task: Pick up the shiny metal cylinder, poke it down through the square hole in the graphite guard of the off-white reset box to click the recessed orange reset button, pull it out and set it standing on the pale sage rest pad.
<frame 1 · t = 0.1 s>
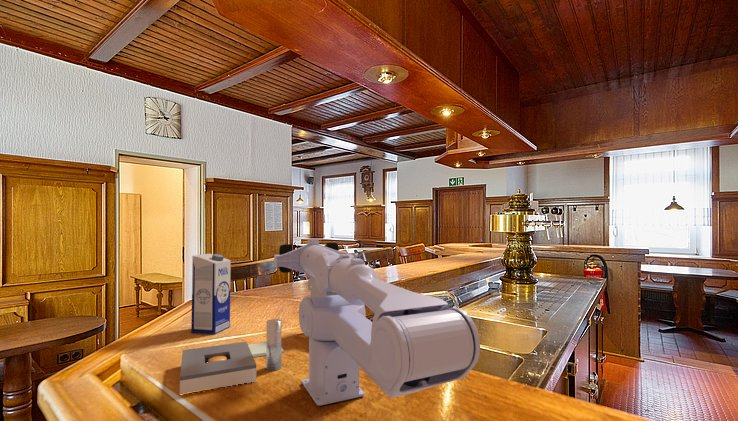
hand: (301, 252, 80), 22 cm above the counter, tool horizontal, fingers open, 7 cm apart
reset box: (217, 373, 68), on the counter
circuit breaker: (338, 334, 92), on the counter
milk carton: (211, 330, 96), on the counter
rest pad: (264, 350, 80), on the counter
reset plunger: (217, 361, 68), point 2 cm above the counter, slide at 0.0 cm
shiny metal cylinder: (273, 367, 70), on the counter
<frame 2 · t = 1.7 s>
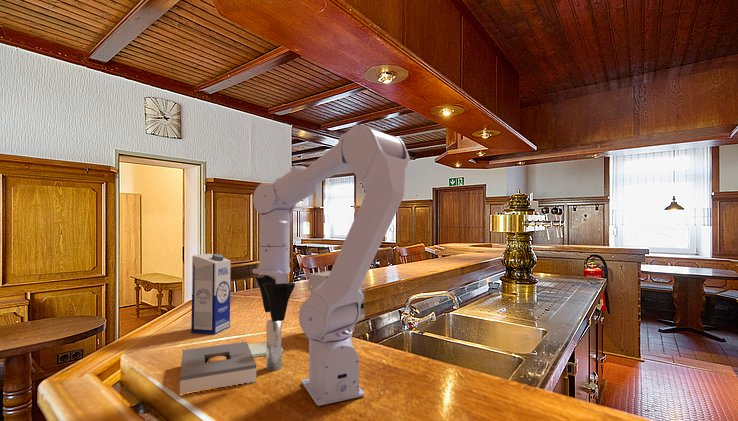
hand: (274, 315, 71), 10 cm above the counter, tool pointing down, fingers open, 7 cm apart
nothing on the counter moved.
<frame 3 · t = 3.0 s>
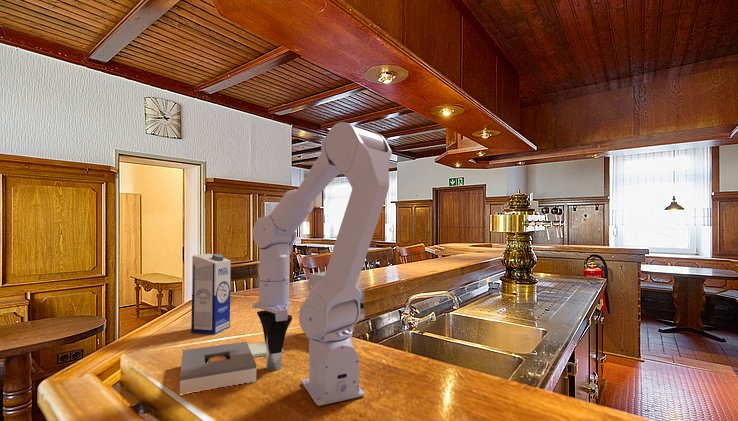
hand: (273, 350, 71), 3 cm above the counter, tool pointing down, fingers closed on shiny metal cylinder, 3 cm apart
shiny metal cylinder: (273, 367, 70), on the counter, touching gripper
everything else where it was.
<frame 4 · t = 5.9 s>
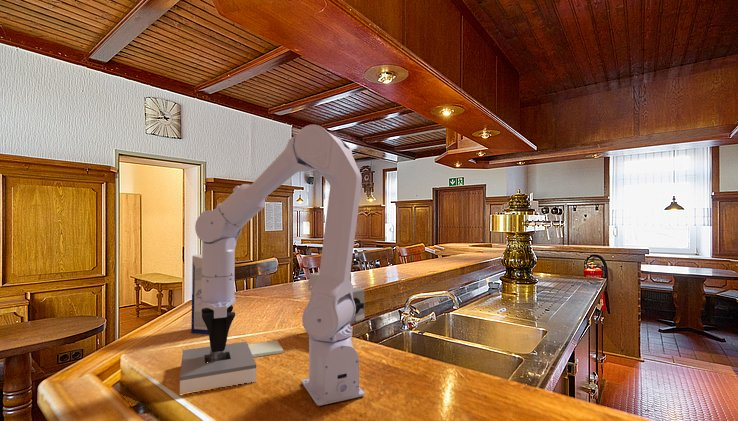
hand: (217, 348, 68), 5 cm above the counter, tool pointing down, fingers closed on shiny metal cylinder, 3 cm apart
reset plunger: (217, 368, 68), point 1 cm above the counter, slide at 1.4 cm, touching shiny metal cylinder
shiny metal cylinder: (217, 366, 68), point 1 cm above the counter, touching gripper, reset plunger
everything else where it was.
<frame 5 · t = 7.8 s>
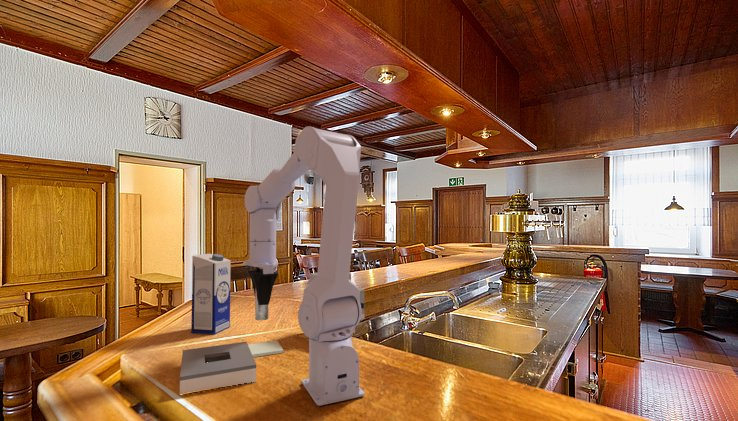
hand: (262, 303, 80), 10 cm above the counter, tool pointing down, fingers closed on shiny metal cylinder, 3 cm apart
reset plunger: (217, 368, 68), point 1 cm above the counter, slide at 1.4 cm
shiny metal cylinder: (261, 318, 80), point 7 cm above the counter, touching gripper
everything else where it was.
when the fingers open (5 cm above the counter, at t = 9.2 s): shiny metal cylinder stays where it is, resting on rest pad.
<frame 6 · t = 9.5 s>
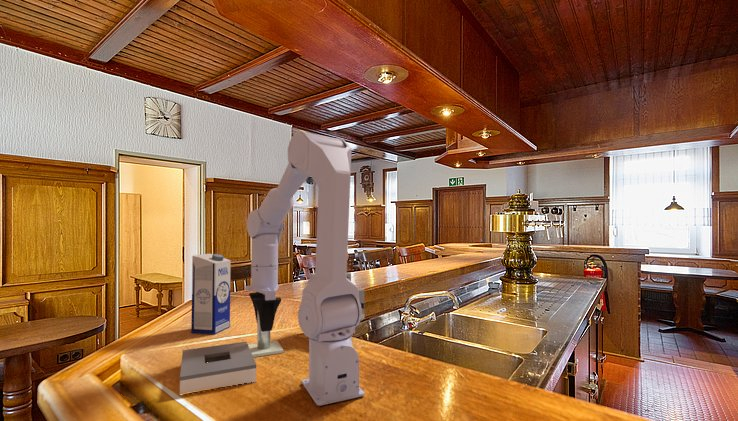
hand: (264, 327, 81), 5 cm above the counter, tool pointing down, fingers open, 5 cm apart
shiny metal cylinder: (263, 347, 80), point 1 cm above the counter, touching rest pad
everything else where it was.
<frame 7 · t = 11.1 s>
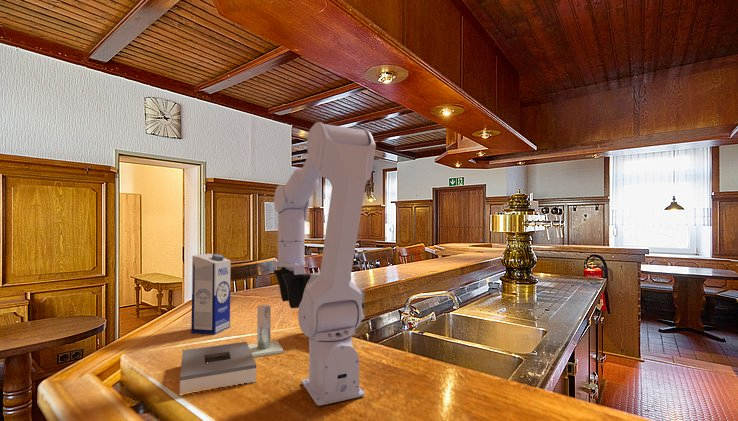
hand: (291, 304, 79), 10 cm above the counter, tool pointing down, fingers open, 7 cm apart
nothing on the counter moved.
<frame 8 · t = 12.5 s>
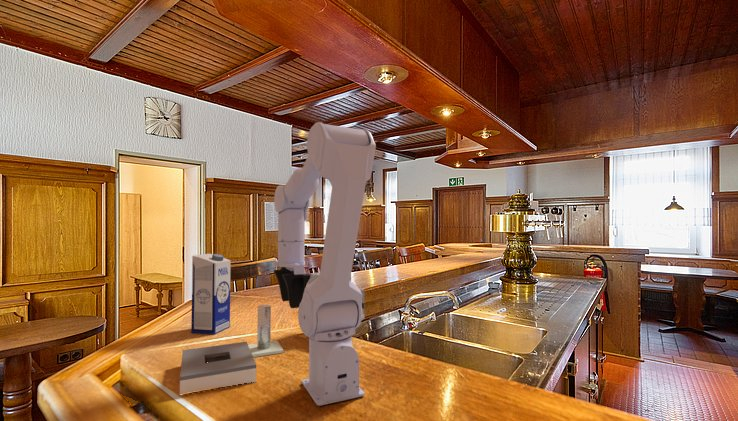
hand: (291, 304, 79), 10 cm above the counter, tool pointing down, fingers open, 7 cm apart
nothing on the counter moved.
at the end: reset plunger slide at 1.4 cm; shiny metal cylinder 0.1 cm off-centre on the rest pad, point 0.6 cm above the rest pad's base; shiny metal cylinder tilted 1° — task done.
